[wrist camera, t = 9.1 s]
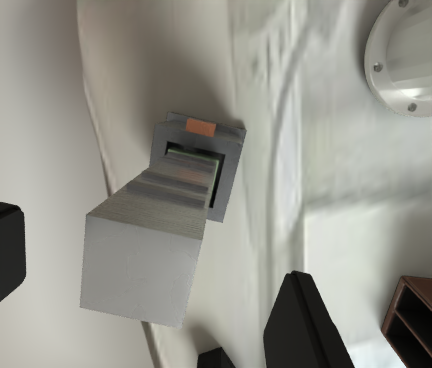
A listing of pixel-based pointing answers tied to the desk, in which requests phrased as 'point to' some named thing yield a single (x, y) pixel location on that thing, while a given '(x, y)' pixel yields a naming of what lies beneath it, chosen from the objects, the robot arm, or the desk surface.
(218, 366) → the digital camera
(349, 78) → the desk surface
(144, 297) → the column
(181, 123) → the stand base
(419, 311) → the letter holder
